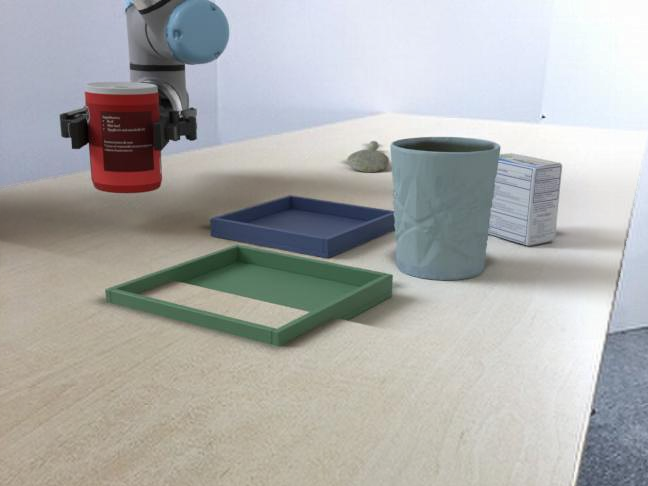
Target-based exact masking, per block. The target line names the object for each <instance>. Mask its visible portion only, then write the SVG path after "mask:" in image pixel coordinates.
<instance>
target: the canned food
mask: <svg viewBox="0 0 648 486" xmlns="http://www.w3.org/2000/svg"><path fill="white" fill-rule="evenodd" d="M84 103H85V106H86V117H87V129H88V141H89V143H88V151H89V153H88V154H89V165H90V177H91V181H92V184H93V187H94V189H96V190H98V191H101V192H103V193H110V194H111V193H112V194H141V193H149V192H153V191H156V190H158V189H160V188H161V186H162V182H163V168H162V151H154V135H153V124H154V123H155V122H156V121H157V120H158V119H160V116H159V98H158V89H157V85H154V84H149V83H138V82H130V81H101V82H100V81H97V82H90V83H86V84H85V85H84Z"/></svg>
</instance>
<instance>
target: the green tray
mask: <svg viewBox="0 0 648 486" xmlns="http://www.w3.org/2000/svg"><path fill="white" fill-rule="evenodd" d="M393 279H394V274H392V273H386V272H381V271H376V270H372V269H367V268H361V267H356V266H351V265H347V264H341V263H336V262H331V261H326V260H325V261H324V260H320V259H315V258H309V257H304V256H300V255H294V254H290V253H285V252H284V253H283V252H280V251H274V250H269V249H263V248H258V247H253V246H247V245H243V244H239V243H238V244H234V245H231V246H228V247H225V248H222V249H219V250H216V251H213V252H210V253H206V254H204V255H201V256H199V257H195V258H192V259H189V260H186V261H184V262H181V263H177V264H175V265H172V266H169V267H166V268H163V269H160V270H158V271H154V272H151V273H149V274H145V275H143V276H139V277H136V278H134V279H131V280H128V281H125V282H122V283H120V284H117V285H114V286H111V287H108V288H105V290H104V291H105V292H104V293H105V302H106V303H110V304H113V305H117V306H121V307H125V308H129V309H132V310H136V311H141V312H144V313H148V314H151V315H157V316H159V317H164V318H167V319H171V320H175V321H179V322H183V323H187V324H191V325H195V326H199V327H202V328H205V329H210V330H213V331H218V332H221V333H225V334H229V335H233V336H236V337H241V338H245V339H249V340H252V341H256V342H260V343H265V344H267V345H273V346H276V347H281V346H282V345H284V344H286V343H288V342H290V341H291V340H293V339H295V338H297V337H299V336H302V335H304V334H305V333H307V332H309V331H311V330H313V329H315V328H316V327H319V326H320V325H322V324H324V323H325V322H328V321H330V320H331V319H333V318H334V319H339V320H343V321H349V320H351V319H352V318H354V317H356V316H358V315H360V314H362V313H364V312H366V311H368V310H369V309H371V308H373V307H375V306H376V305H378V304H380V303H382V302H384V301H385V300H387V299H389V298H391V297H392V296H393V281H394V280H393ZM171 282H176V283H177V282H178V283H182V284H186V285H190V286H195V287H200V288H204V289H208V290H212V291H217V292H220V293H225V294H229V295H234V296H239V297H243V298H246V299H247V298H248V299H251V300H256V301H261V302H264V303H269V304H273V305H276V306H277V305H278V306H281V307H285V308H286V307H287V308H290V309H294V310H299V311H304V312H307V313H306V314H303V315H301V316H299V317H297V318H295V319H293V320H291V321H289V322H287V323H285V324H283V325H281V326H279V327H277V328H276V327H272V326H268V325H265V324H260V323H255V322H252V321H248V320H244V319H239V318H235V317H233V316H232V317H231V316H227V315H223V314H219V313H215V312H211V311H207V310H204V309H199V308H194V307H190V306H187V305H183V304H178V303H175V302H171V301H167V300H162V299H160V298H159V299H158V298H154V297H151V296H147V295H142V294H140V293H143V292H146V291H149V290H151V289H155V288H156V287H159V286H160V287H161V286H162V285H165V284H168V283H171Z"/></svg>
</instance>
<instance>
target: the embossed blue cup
mask: <svg viewBox="0 0 648 486" xmlns="http://www.w3.org/2000/svg"><path fill="white" fill-rule="evenodd" d="M389 147H390V164H391V176H392V187H393V190H392V197H393V201H392V205H393V207H394V208H393V211H395V212H394V218H395V224H394V226H395V230H394V237H395V242H396V243H395V262H396V267H397V269H398V270H399V271H400V272H402V273H404V274H406V275H408V276H412V277H416V278H420V279H424V280H433V281H434V280H435V281H437V280H438V281H459V280H465V279H471V278H474V277H478V276H480V275H482V273H483V271H484V269H485V264H486V262H485V261H486V256H487V248H488V247H487V246H488V243H487V242H488V240H489V234H488V229H489V226H490V224H489V222H490V216H491V210H490V209H491V208H492V199H493V198H494V190H495V183H494V180H495V178H496V175H497V168H498V161H499V155H500V154H501V145H500V144H499V143H497V142H496V141H491V140H488V139H482V138H473V137H464V136H463V137H461V136H421V137H419V136H418V137H410V138H409V137H407V138H402V139H397V140H394V141H391V144H390V145H389Z"/></svg>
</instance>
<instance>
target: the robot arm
mask: <svg viewBox="0 0 648 486" xmlns="http://www.w3.org/2000/svg"><path fill="white" fill-rule="evenodd" d="M124 13H125V15H126V16H125V17H126V19H125V20H126V31H127V32H126V33H127V45H128V46H127V47H128V59H129V82H138V83H149V84H154V85H157V89H158V98H159V116H160V119H158V120H157V121H156V122H155V123H154V124H153V135H154V151H161V152H162V151H163V150H164V149H165V147H166V146H167V145H168V144H169V143H170V141H173V142H178V141H181V137H182V136H183V137H185V139H186V140H188V141H189V142H193V141H196V140H198V109H197V108H195V107H194V106H193V107H190V94H189V92H188V89H187V81H186V80H187V79H186V65H188V66H195V65H204V64H205V65H206V64H209V63H212V62H214V61H216V60H218V59H219V57H221V56H222V54H224V52H225V50H226V49H227V46H228V43H229V39H230V25H229V22H228V18H227V16H226V14H225V13H224V11H223V9H222V8H221V7H219V6H218V5H217V4H216V3H215V2H213V1H211V0H125V8H124ZM58 116H59V125H60V137H61V138H64V139H70V142H71V149H72V150H80V149H82V148H83V147H85V146H87V145H89V141H88V129H87V117H86V105H84V106H83V107H81V108H78V109H73V110H71V111H67V112H62V113H59V115H58Z"/></svg>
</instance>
